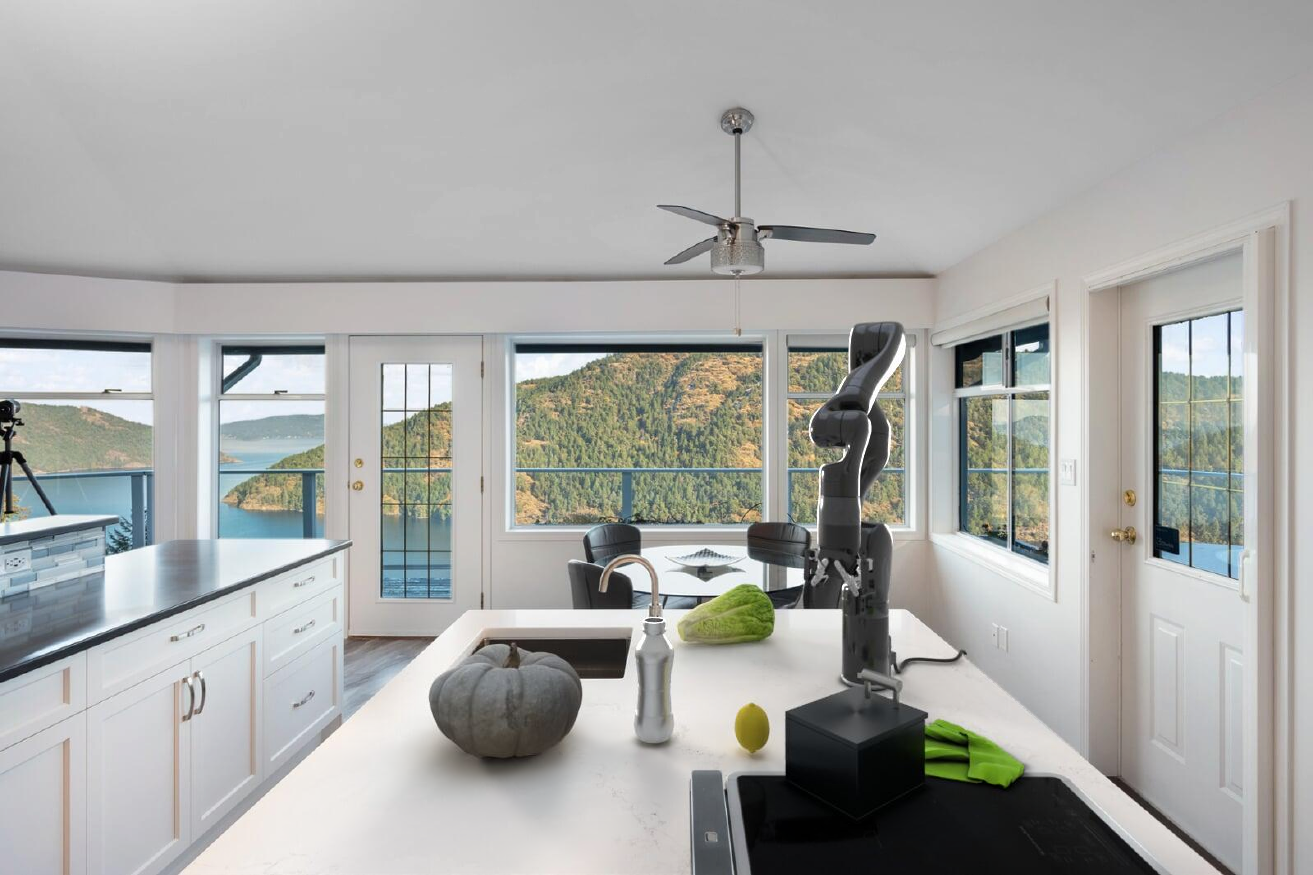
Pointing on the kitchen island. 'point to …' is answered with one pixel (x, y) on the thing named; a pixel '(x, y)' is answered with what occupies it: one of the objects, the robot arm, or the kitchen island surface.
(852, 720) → the caddy lid
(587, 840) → the kitchen island surface
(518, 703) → the gourd
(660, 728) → the silver bottle
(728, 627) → the lettuce
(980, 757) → the cloth
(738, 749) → the kitchen island surface
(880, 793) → the box
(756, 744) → the lemon
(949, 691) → the kitchen island surface
